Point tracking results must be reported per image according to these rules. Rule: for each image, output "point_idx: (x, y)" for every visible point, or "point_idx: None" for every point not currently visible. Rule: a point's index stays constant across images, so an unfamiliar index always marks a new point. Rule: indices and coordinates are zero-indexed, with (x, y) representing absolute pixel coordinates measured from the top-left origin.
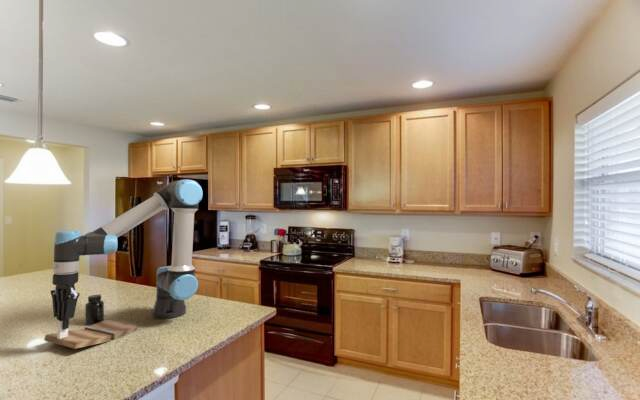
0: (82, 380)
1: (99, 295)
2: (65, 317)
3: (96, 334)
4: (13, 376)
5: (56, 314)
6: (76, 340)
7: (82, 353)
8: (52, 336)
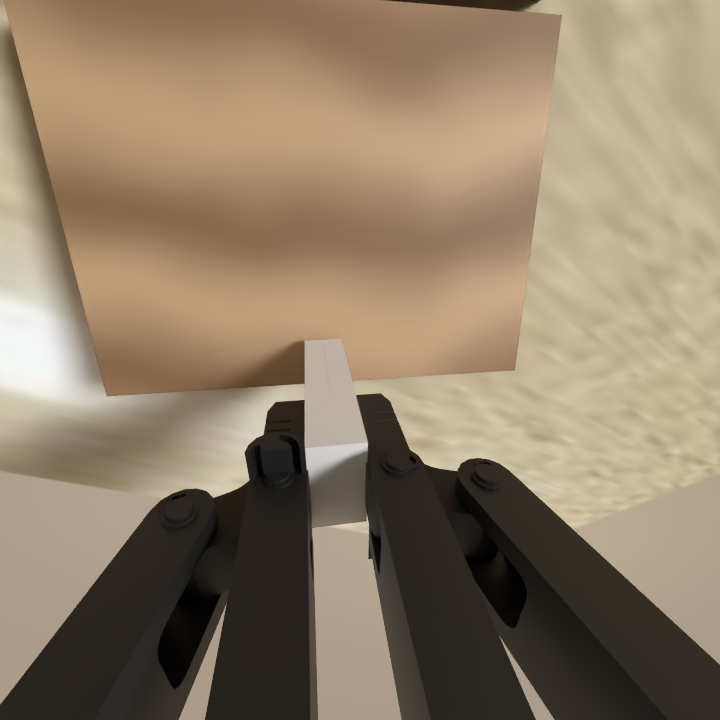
0: (682, 434)
1: None
2: (477, 561)
3: (412, 87)
4: None
5: (225, 598)
6: (464, 335)
7: None
8: (211, 387)
